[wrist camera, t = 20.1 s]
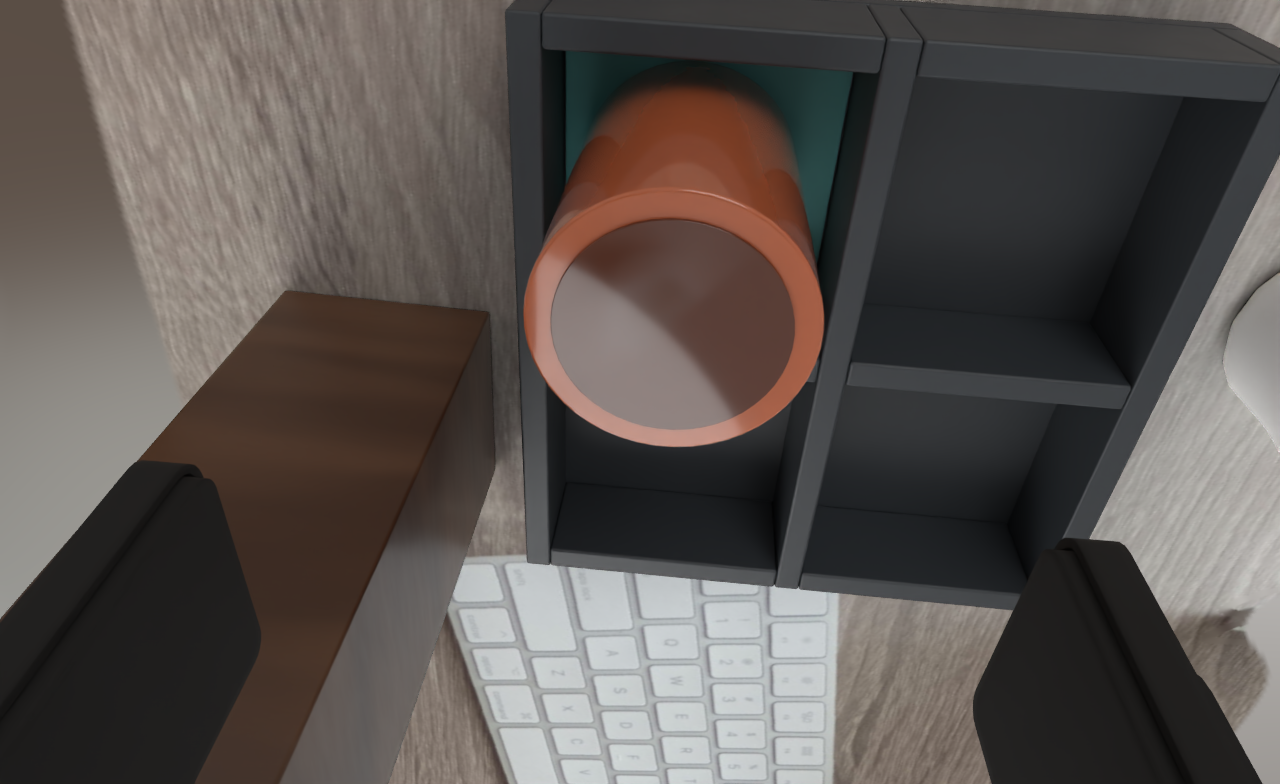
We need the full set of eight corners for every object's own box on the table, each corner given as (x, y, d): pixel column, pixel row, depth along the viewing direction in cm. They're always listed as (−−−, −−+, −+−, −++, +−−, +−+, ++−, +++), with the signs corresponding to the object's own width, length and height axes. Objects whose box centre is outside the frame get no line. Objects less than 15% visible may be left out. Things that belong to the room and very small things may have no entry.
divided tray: (547, 483, 28) (526, 564, 25) (538, -26, 19) (504, 9, 16) (1017, 527, 28) (1052, 615, 25) (1231, 23, 19) (1324, 68, 16)
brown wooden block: (284, 289, 25) (-1333, 2144, 5) (490, 311, 25) (-406, 2304, 5) (315, 449, 28) (-594, 1923, 9) (495, 469, 28) (-28, 2014, 9)
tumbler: (540, 133, 21) (460, 283, 15) (730, 13, 19) (731, 128, 13) (653, 298, 23) (626, 487, 17) (833, 207, 21) (875, 382, 15)
